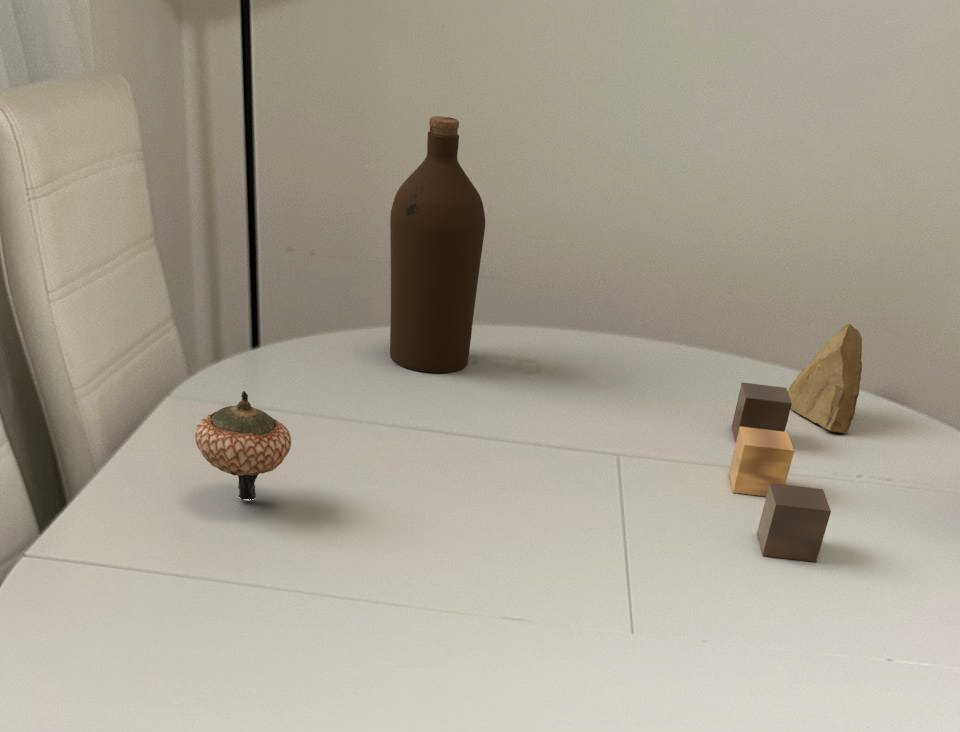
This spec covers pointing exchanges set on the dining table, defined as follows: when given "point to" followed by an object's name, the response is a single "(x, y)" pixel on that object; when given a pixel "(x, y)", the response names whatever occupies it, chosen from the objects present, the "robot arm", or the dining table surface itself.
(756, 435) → the maple block
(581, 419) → the dining table surface
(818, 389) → the rock
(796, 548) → the walnut block
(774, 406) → the walnut block
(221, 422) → the acorn
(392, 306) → the olive oil
